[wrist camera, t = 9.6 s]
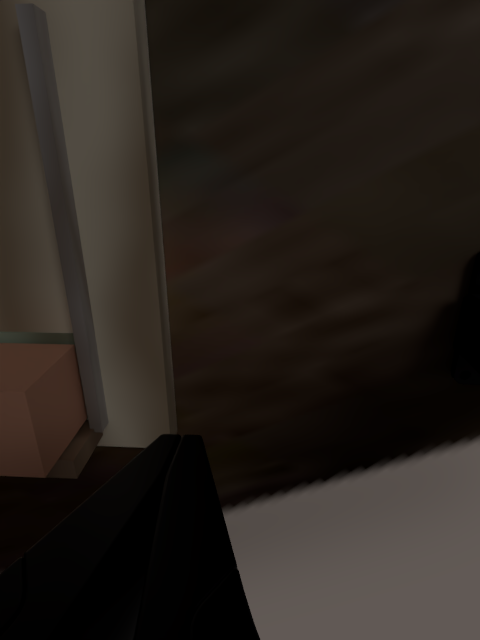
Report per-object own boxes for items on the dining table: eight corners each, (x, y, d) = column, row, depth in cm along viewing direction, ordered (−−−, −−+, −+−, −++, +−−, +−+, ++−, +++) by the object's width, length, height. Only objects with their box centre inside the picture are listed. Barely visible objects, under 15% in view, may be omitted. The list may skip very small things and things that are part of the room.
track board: (142, -26, 14) (90, -106, 10) (177, 430, 22) (156, 494, 17) (-169, -16, 15) (-340, -87, 11) (-32, 422, 22) (-100, 482, 18)
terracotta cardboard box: (74, 344, 18) (24, 391, 14) (87, 417, 19) (45, 477, 16) (-10, 342, 18) (-81, 388, 14) (9, 414, 20) (-51, 473, 16)
